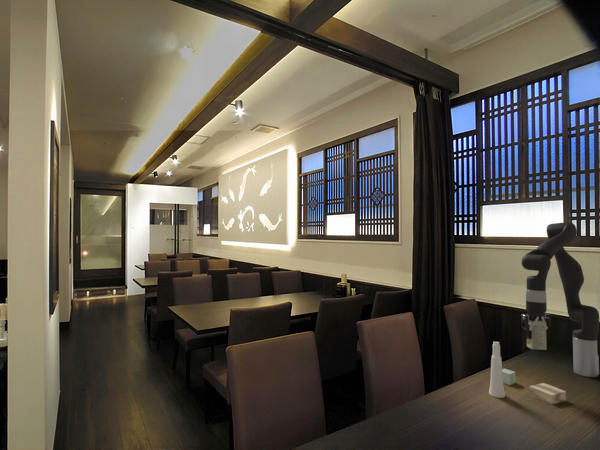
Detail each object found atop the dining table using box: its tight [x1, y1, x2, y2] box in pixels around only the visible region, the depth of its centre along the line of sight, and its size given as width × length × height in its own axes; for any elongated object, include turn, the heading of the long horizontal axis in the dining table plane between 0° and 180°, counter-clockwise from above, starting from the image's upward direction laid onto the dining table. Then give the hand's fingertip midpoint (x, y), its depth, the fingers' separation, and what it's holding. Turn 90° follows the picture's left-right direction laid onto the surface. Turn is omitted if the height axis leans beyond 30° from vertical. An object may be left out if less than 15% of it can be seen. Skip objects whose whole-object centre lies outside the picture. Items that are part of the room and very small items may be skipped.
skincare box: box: [526, 320, 548, 351], centre depth 154 cm, size 6×4×12 cm
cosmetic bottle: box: [488, 341, 506, 399], centre depth 149 cm, size 6×6×22 cm
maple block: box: [528, 382, 567, 405], centre depth 146 cm, size 9×9×4 cm
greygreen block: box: [502, 368, 517, 386], centre depth 161 cm, size 5×5×5 cm
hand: (536, 338), depth 154 cm, fingers closed on skincare box, 7 cm apart
